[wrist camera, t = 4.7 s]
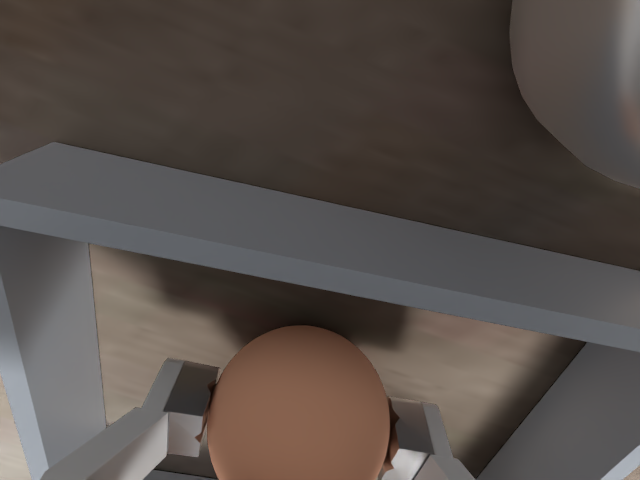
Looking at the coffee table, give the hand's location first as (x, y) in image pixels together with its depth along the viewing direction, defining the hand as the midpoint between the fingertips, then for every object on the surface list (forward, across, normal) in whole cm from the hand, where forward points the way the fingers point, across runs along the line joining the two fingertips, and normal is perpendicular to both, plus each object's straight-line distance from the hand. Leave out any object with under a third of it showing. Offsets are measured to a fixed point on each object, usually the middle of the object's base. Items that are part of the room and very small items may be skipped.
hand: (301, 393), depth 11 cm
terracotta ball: (+2, 0, 0) cm, 2 cm away
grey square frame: (+2, -1, +2) cm, 3 cm away
